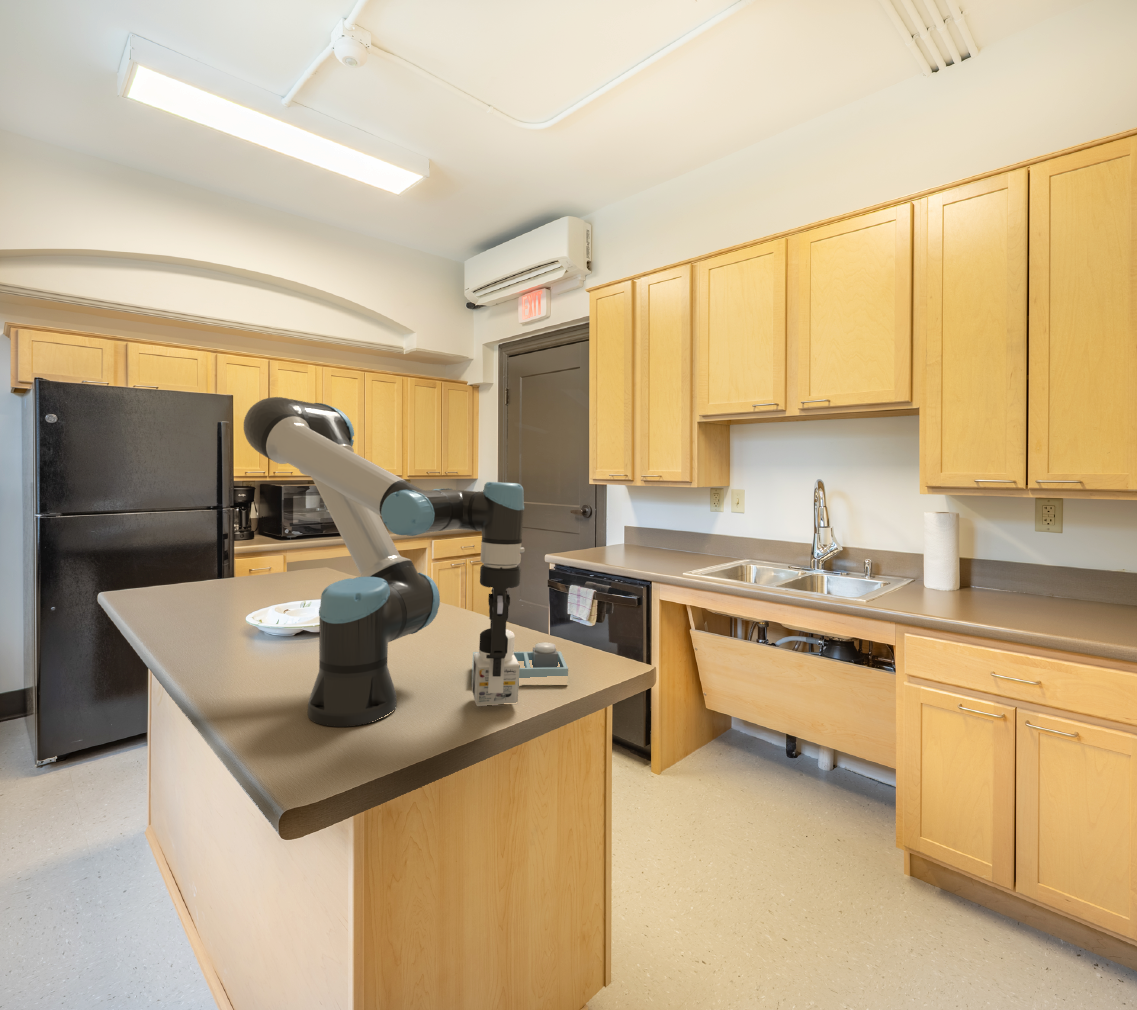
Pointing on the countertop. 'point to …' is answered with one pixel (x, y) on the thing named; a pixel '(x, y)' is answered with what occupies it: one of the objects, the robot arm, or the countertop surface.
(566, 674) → the tray
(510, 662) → the container
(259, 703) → the countertop surface
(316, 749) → the countertop surface
